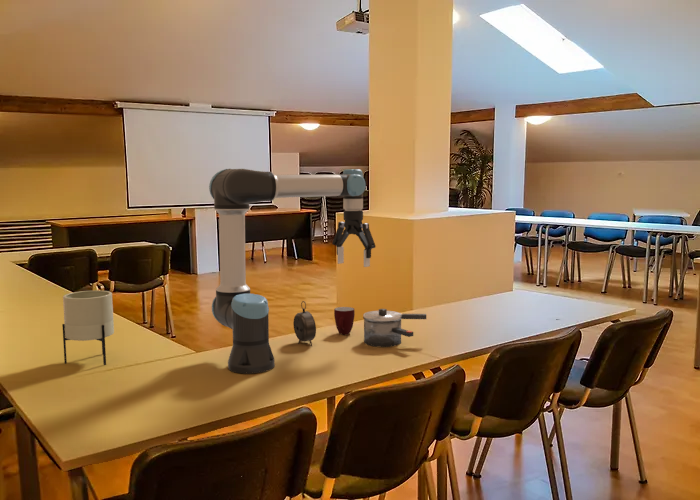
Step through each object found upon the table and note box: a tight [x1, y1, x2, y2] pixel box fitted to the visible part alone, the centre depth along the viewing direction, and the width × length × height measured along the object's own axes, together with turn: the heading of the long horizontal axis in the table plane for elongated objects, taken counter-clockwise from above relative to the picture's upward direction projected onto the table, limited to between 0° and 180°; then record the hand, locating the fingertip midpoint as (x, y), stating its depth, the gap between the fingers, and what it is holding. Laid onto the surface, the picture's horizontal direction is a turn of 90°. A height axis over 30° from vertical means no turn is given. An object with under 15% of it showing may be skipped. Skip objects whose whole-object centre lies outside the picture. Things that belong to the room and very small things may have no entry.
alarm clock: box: [293, 300, 317, 347], centre depth 228 cm, size 11×5×16 cm, turn 31°
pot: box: [363, 318, 414, 348], centre depth 227 cm, size 14×23×9 cm, turn 36°
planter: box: [62, 289, 115, 366], centre depth 207 cm, size 15×16×23 cm
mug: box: [333, 306, 356, 336], centre depth 242 cm, size 10×8×10 cm
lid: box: [362, 308, 427, 322], centre depth 230 cm, size 15×24×3 cm, turn 86°
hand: (353, 265), depth 236 cm, fingers open, 13 cm apart
